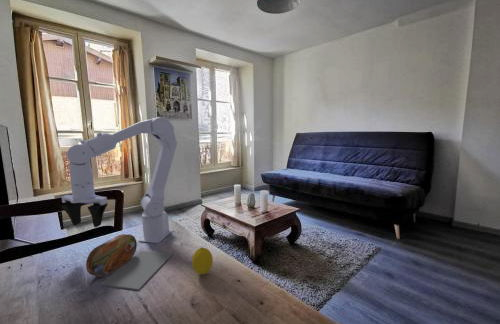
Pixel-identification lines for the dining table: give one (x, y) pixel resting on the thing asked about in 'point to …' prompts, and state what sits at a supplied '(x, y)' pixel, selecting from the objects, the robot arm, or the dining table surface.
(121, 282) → the felt mat
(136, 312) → the dining table surface
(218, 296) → the dining table surface
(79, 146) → the robot arm
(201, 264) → the lemon
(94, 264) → the tin
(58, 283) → the dining table surface
